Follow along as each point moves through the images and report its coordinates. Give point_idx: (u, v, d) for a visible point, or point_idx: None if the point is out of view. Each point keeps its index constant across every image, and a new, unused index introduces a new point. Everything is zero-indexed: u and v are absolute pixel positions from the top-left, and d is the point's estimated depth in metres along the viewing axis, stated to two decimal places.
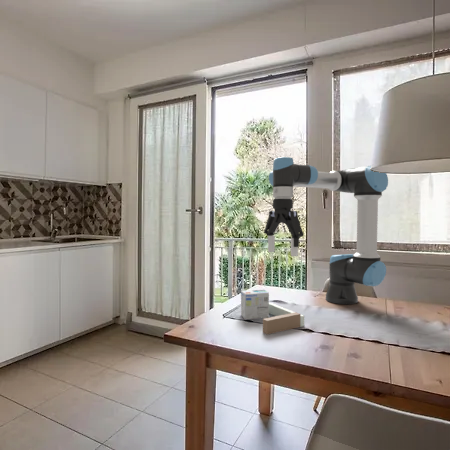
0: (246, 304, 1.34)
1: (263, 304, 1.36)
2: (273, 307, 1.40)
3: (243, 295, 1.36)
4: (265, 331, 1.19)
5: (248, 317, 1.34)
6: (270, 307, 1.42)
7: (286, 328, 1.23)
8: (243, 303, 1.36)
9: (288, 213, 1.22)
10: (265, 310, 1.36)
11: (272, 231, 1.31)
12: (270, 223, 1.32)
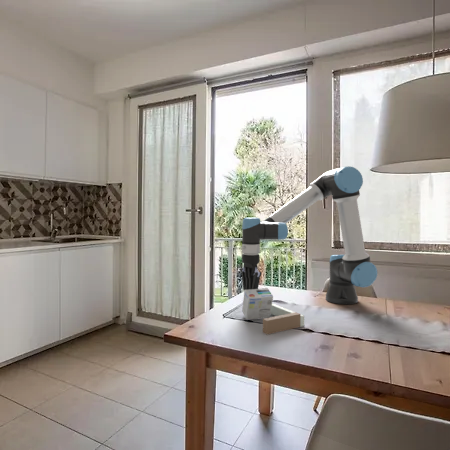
0: (249, 307, 1.31)
1: (266, 306, 1.33)
2: (273, 307, 1.40)
3: (247, 297, 1.32)
4: (265, 331, 1.19)
5: (249, 318, 1.33)
6: None
7: (286, 328, 1.23)
8: (246, 304, 1.33)
9: (254, 270, 1.37)
10: (267, 311, 1.34)
11: None
12: (245, 278, 1.43)
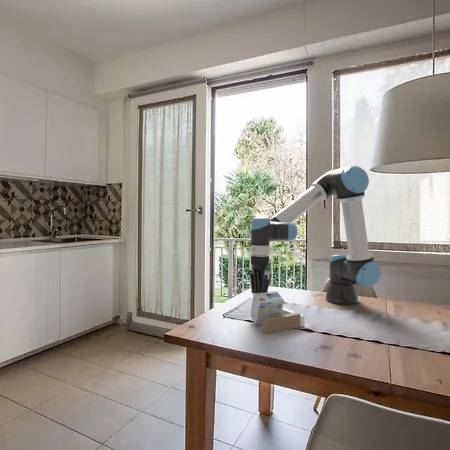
0: (259, 311, 1.25)
1: (276, 311, 1.28)
2: None
3: (256, 301, 1.26)
4: (265, 331, 1.19)
5: (259, 323, 1.28)
6: None
7: (286, 328, 1.23)
8: (255, 309, 1.27)
9: (263, 272, 1.31)
10: None
11: None
12: (253, 281, 1.38)
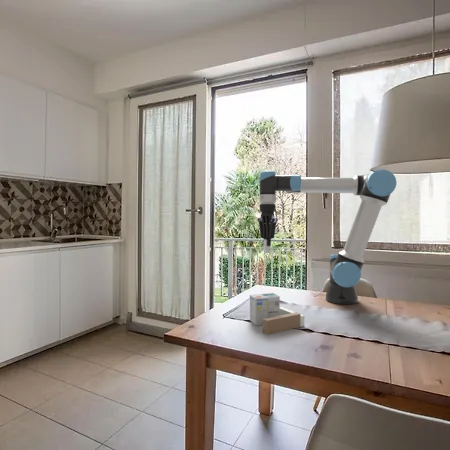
0: (257, 309, 1.27)
1: (274, 308, 1.29)
2: None
3: (253, 299, 1.29)
4: (265, 331, 1.19)
5: (259, 322, 1.28)
6: None
7: (286, 328, 1.23)
8: (253, 308, 1.29)
9: (271, 217, 1.54)
10: (276, 315, 1.30)
11: None
12: (262, 227, 1.60)
